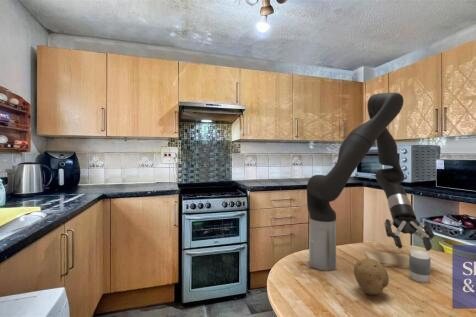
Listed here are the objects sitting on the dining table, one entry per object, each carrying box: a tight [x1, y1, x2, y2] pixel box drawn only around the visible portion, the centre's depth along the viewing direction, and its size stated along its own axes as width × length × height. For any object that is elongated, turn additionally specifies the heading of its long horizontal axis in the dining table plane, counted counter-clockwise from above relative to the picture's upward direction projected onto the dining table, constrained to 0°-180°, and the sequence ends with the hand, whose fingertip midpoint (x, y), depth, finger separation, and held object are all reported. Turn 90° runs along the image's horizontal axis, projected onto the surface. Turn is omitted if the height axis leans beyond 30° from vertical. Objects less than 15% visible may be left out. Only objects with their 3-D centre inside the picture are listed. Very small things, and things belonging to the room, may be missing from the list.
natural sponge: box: [353, 257, 390, 296], centre depth 72 cm, size 9×9×10 cm
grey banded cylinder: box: [408, 248, 432, 284], centre depth 81 cm, size 6×6×9 cm
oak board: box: [363, 250, 436, 271], centre depth 94 cm, size 20×11×1 cm, turn 76°
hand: (414, 248), depth 84 cm, fingers open, 8 cm apart
